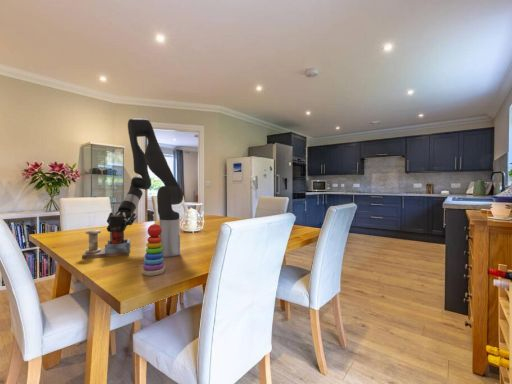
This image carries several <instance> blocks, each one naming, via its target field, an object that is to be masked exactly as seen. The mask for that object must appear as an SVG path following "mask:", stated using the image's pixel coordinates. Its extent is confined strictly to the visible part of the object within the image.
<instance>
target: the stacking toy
mask: <svg viewBox="0 0 512 384" xmlns="http://www.w3.org/2000/svg"><path fill="white" fill-rule="evenodd" d="M161 232H162V229H161V227H160V226H159V224H156V223H154V224H150V225H149V226H148V228H147V235H148V236H149V237H147V243H146V249H145V253H144V259H143V265H142V270H141V272H142V275H144V276H148V277H149V276H150V277H153V276H159V275H162V274H164V273H165V267H164V266H165V263H164V260H165V259H164V258H165V257H163V253H162V250H163V249H162V247H161V246H162V243H161V242H160V241H161V237H160V236H159V235H160V234H161Z"/></svg>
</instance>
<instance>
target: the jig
mask: <svg viewBox="0 0 512 384" xmlns="http://www.w3.org/2000/svg"><path fill="white" fill-rule="evenodd" d="M98 234H101V229H90V230H85V235H88V249H85V251H84V253H83V254H82V255H81V258H82V259H81V260H84V259H94V258H95V259H96V258H105V257H106V258H107V257H116V256H118V257H119V256H128V255H130V251H131V238H124V243H120V244H110V239H109V240H107V244H104V248H100V247H99V244H98V243H99V242H98V238H99V237H98Z"/></svg>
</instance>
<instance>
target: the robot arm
mask: <svg viewBox="0 0 512 384" xmlns="http://www.w3.org/2000/svg"><path fill="white" fill-rule="evenodd" d="M127 131H128V136H129V137H128V138H129V143H130V147H131V152H132V161H133V172H134V173H135V174H137V175H135V176H133V177H132V178H131V181H130V186H129V190H128V192H127V193H126V195H125V196H124V198H123V199H122V202H121V203H120V204H119V206H118V209H117V211H116V212H114V213H113V212H110V213H109V214H108V217H107V220H106V223H107V224H108V226H107V227H106V230H107V232H109V233H110V216H112V215H124V221H123V223H124V224H122V226H121V228H120V232H123V231H126V229H127V227H128V226H132V225H133V224H134V222H135V221H136V219H137V218H138V216H137V214H136V213H135V211H136V209H137V207H138V205H139V204H140V201H141V198H142V197H143V190H146V191H147V190H149V189H150V188H151V187H152V179H151V177H150V176H151V175H150V174H149V170H150V172H152V174H153V175H154V176H156V177H157V178H158V179H159V180H160V181H161V182H162V183H163V184H164V185H162V186H160V187H159V188H158V189H157V194H156V202H157V214H158V216H159V223H158V225H159V226H160V227H161V229H162V232H161V234H160V235H159V236H160V237H161V241H160V242H161V243H162V246H161V247H162V249H163V250H162V253H163V256H162V257H163V258H165V257H166V258H167V257H168V258H169V257H176V256H180V255H181V234H180V213H179V212H177V211H175V210H173V206H172V205H174V206H175V205H179V204H181V203H182V202H183V200H184V192H183V190H182V188H181V185H179V184H180V183H178V181H177V179H176V178H175V176H174V174H173V172H172V170H171V168H170V166H169V164H168V161H167V159H166V157H165V155H164V152H163V151H162V149H161V148H162V147H160V145H159V141H158V140H157V139H158V138H157V137H156V134H155V130H154V128H153V125H152V122H151V121H150V120H149V119H148V118H130V119H129V120H128V121H127ZM139 137H140V138H141V137H142V138H143V137H145V138H146V139H147V146H146V148H145V151H143V149H142V148H141V146H140V144H139V141H138V138H139ZM148 168H149V170H148ZM138 175H139V176H138Z"/></svg>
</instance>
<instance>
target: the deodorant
mask: <svg viewBox="0 0 512 384" xmlns="http://www.w3.org/2000/svg"><path fill="white" fill-rule="evenodd" d="M123 221H124V215H112V216H110V232H109V240H110V244H120V243H124V239H125V232H124V231H125V230H124V231H123V232H120V228H121V226H122V224H124V223H123Z"/></svg>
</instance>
